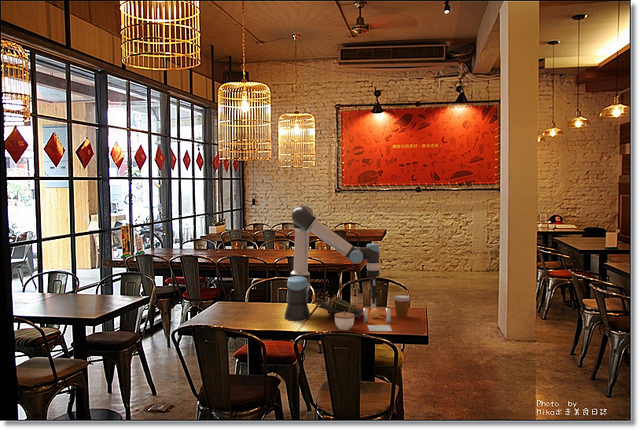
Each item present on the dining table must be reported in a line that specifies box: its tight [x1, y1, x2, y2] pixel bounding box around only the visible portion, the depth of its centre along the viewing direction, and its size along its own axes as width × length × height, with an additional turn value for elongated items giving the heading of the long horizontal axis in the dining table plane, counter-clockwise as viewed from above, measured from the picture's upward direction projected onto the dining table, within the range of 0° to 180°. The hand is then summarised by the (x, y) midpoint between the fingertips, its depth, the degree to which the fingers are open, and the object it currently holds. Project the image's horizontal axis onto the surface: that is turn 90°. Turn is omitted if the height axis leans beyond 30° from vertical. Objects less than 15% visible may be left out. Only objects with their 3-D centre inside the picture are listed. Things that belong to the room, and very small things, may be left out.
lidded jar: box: [334, 311, 355, 331], centre depth 308 cm, size 11×11×9 cm
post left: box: [363, 307, 369, 324], centre depth 322 cm, size 3×3×8 cm
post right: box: [385, 307, 392, 324], centre depth 322 cm, size 3×3×8 cm
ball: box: [369, 308, 381, 319], centre depth 333 cm, size 6×6×6 cm
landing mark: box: [367, 324, 393, 332], centre depth 309 cm, size 12×12×1 cm
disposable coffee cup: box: [393, 294, 411, 319], centre depth 336 cm, size 10×10×12 cm
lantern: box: [312, 294, 364, 318], centre depth 335 cm, size 14×23×30 cm
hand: (373, 308), depth 344 cm, fingers closed
